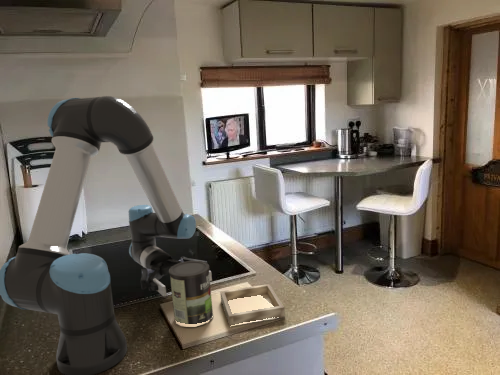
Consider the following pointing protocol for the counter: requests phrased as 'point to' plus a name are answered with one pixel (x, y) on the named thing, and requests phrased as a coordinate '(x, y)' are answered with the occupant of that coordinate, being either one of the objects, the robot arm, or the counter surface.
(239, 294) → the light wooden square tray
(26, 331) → the counter surface
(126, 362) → the counter surface
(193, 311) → the coffee can
